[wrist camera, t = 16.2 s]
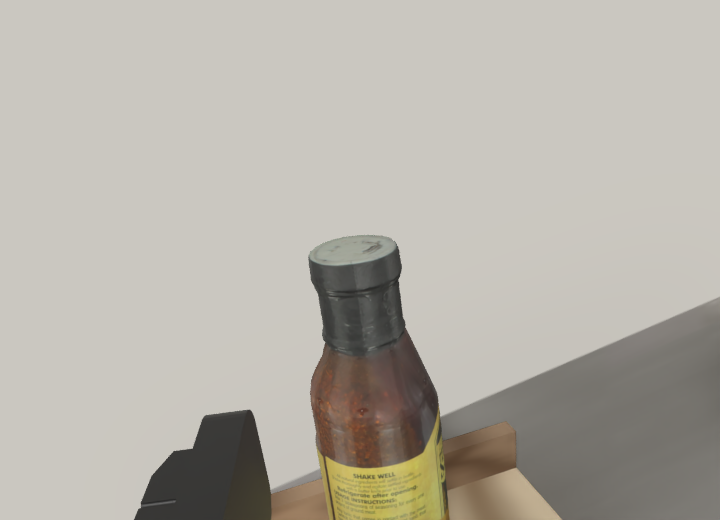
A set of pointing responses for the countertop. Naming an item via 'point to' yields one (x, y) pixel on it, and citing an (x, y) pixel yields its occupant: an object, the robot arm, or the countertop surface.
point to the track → (452, 483)
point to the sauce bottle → (373, 391)
